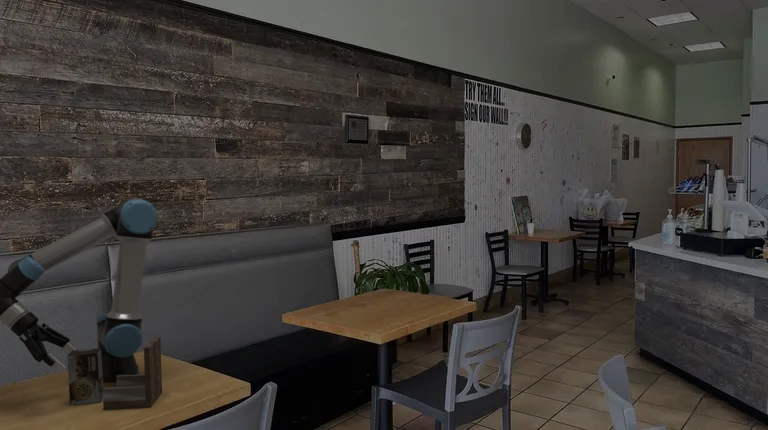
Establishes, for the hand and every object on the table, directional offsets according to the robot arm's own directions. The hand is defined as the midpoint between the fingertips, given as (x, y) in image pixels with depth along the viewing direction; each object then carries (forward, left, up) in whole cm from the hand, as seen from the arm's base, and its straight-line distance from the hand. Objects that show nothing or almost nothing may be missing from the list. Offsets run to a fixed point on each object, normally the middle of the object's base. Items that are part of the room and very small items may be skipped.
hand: (71, 365), depth 193 cm
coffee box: (-2, +3, -12) cm, 13 cm away
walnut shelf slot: (-6, +18, -12) cm, 23 cm away
